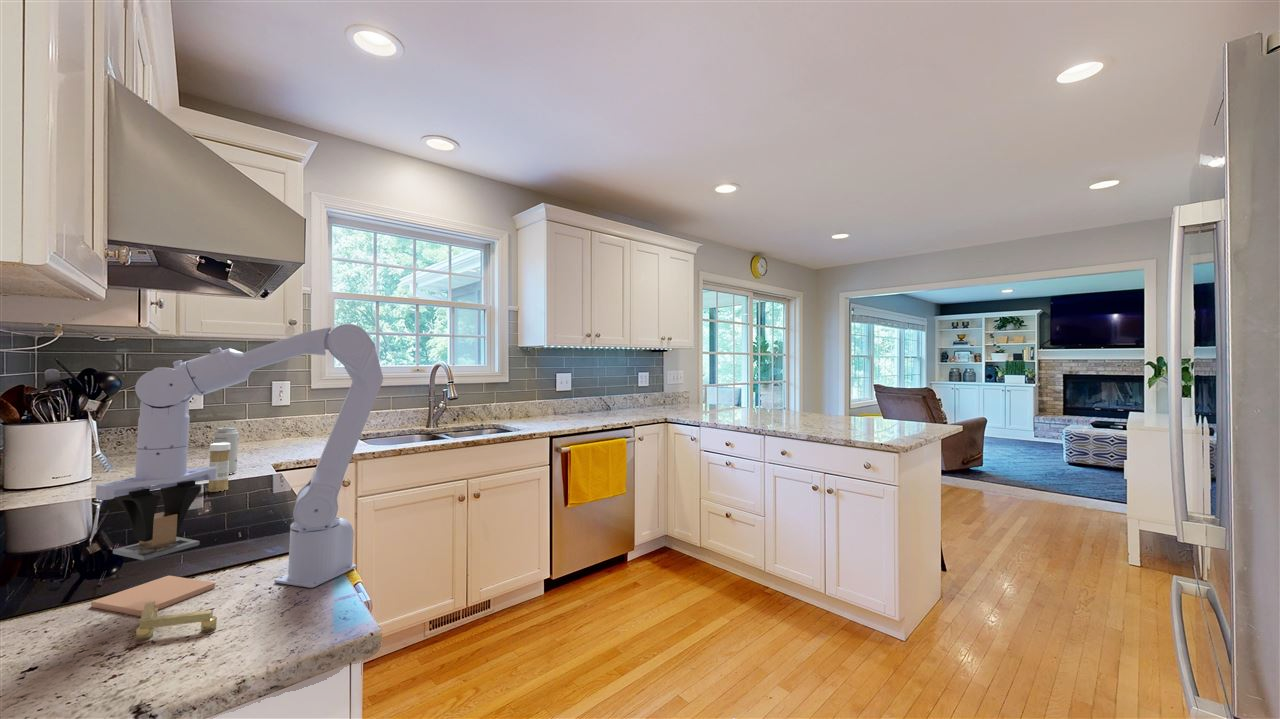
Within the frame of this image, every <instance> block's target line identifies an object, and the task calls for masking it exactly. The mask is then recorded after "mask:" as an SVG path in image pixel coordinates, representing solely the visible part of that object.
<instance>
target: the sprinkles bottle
mask: <svg viewBox="0 0 1280 719" xmlns="http://www.w3.org/2000/svg"><path fill="white" fill-rule="evenodd" d="M229 451H230V443H214V442H213V443H210V445H209V463H208V464H209V465H208V467H212V468H216V479H214V480H208V489H207V491H208V492H209V493H216V492H217V493H219V491H221V492H225V491H228V490H229V476H230V475H229ZM224 490H225V491H224Z"/></svg>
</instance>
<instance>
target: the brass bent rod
mask: <svg viewBox="0 0 1280 719" xmlns="http://www.w3.org/2000/svg"><path fill="white" fill-rule="evenodd" d="M155 602H156V601H154V602H149V603H146V604H145V607H144V610H143V611H142V616H140V619H139V626H138V627H136V634H135V641H136V642H142V641H143V642H144V641H147V640H149V639H151V638H153V637H154V629H155V628H161V627H170V626H171V627H172V626H178V625H187V624H194V623H201V626H200V633H209V632H213V631H215V630H216V629H217V622H218V619H217V618H218V617H217V616H213V613H214V610H213V609H212V610H211V609H210V610H202V611H192V612H185V613H175V614H167V615H160V616H158V614H159V613H158V612H159V610H158V608H157V607H155Z"/></svg>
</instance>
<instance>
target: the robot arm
mask: <svg viewBox="0 0 1280 719" xmlns="http://www.w3.org/2000/svg"><path fill="white" fill-rule="evenodd" d="M326 350H328V351H329V353H330V354H331V355H332V356H333V357H334V358H335V359H336V360H337V361H338V362H339V363H340V364H342V365H343V366H344V369H345V370H346V373H347V374H348V376H349V377H350V380H351V385H350V387H349V388H348V392H347V393H346V397H345V399H344V401H343V403H342V404H341V405H342V406H341V408H340V410H339V413H338V415H337V418H336V420H335V423H334V424H333V427H332V429H331V432H330V433H329V436H328V439H327V441H326V444H325V446H324V449H323V451H322V454H321V456H320V458H319V460H318V462H317V465H316V467H315V468H314V471H313V472H312V475H311V477H310V478H309V481H308V482H307V483H306V484H305V485H304V486H303V487H302V488H300V490H299V491H298V492H297V495H296V498H295V505H294V507H293V513H292V516H293V519H294V521H293V522H292V523H290V525H289V526H290V528H289V529H290V530H289V547H288V565H287V566H288V567H287V568H288V571H287V573H286V574H284V575H282V576H278V577H276V578H275V579H274V583H277V584H283V585H289V586H290V585H291V586H295V587H304V588H309V589H312V588H315V587H318V586H319V585H321V584H324V583H326V582H328V581H330V580H333V579H335V578H337V577H339V576H341V575H343V574H345V573H347V572H349V571H352V570H353V569H356V568H357V564H355V563H353V558H354V534H355V533H354V529H353V525H352V524H351V522H350V521H349V520H347V519H346V518H344V517H339V516H337V515H338V512H339V503H338V497H339V493H340V491H341V489H342V484H343V480H344V478H345V474H346V471H347V469H348V466H349V465H350V462H351V459H352V457H353V455H354V452H355V449H356V447H357V445H358V442H359V441H360V438H361V436H362V433H363V432H364V427H365V425H366V423H367V420H368V418H369V416H370V413H371V411H372V408H373V406H374V404H375V401H376V399H377V396H378V394H379V392H380V389H381V386H382V385H383V382H384V376H383V371H382V368H381V364H380V360H379V357H378V353H377V348H376V344H375V342H374V341H373V340H372V338H371V336H370V335H369V334H368V332H366V330H365V329H364V328H362V327H361V326H360V325H358V324H357V325H356V324H353V323H343V324H340V325H338V326H335V327H334V328H332V327H331V326H330V327H325V328H319V329H314V330H309V331H303V332H302V333H297V334H296V335H293V336H290V337H287V338H284V339H281V340H278V341H275V342H272V343H268V344H265V345H263V346H260V347H257V348H253V349H251V350H248V351H245V352H242V351H239V350H237V349H233V348H227V349H222V348H221V347H216V348H212V349H210V350H209V352H210V353H209V354H206V355H203V356H199V357H197V358H192V359H189V360H186V361H183V360H182V359H179V360H175V361H173V362H172V366H173V368H171V367H165V366H164V367H161V366H160V367H155V368H153V369H152V370H150V371H147V372H145V373H144V374H142V375H141V376H140V377H139V378H138V379H137V381H136V383H135V389H134V391H135V394H136V396H137V397H138V399H139V400H140V402H139V403H140V406H139V417H138V420H137V441H136V455H135V456H136V457H135V474H134V476H133V477H128V478H123V479H120V480H115V481H111V482H106V483H100V484H97V485H96V486H95V500H104V501H107V500H112V499H115V501H116V502H117V504H119V505H120V507H121V508H122V509H123V511H124V513H125V514H126V517H127V518H128V520H129V523H130V525H131V528H132V531H133V535H134V540H135V541H138V542H139V541H143V542H146V541H150V540H151V537H152V533H153V521H154V515H155V514H156V510H157V507H158V505H159V502H160V499H161V496H160V495H158V494H157V495H155V494H153V492H151V491H153V490H154V491H155V490H160V491H161V495H162V500H163V507H164V512H169V513H175V514H178V515H177V533H176V534H180V531H181V529H182V525H183V524H184V523H183V522H184V520H185V518H186V515H187V513H188V511H189V509H190V507H191V505H193V504H192V503H193V502H194V501H195V499H196V498H197V496H198V495H199V494H200V493H201V491H202V484H198V482H204V481H209V480H214V479H216V468H212V467H209V466H206V467H199V468H191V469H189V468H188V457H189V456H188V453H189V439H190V438H189V437H190V422H191V421H190V419H191V417H190V415H189V414H190V413H189V412H190V400H191V398H192V397H193V396H194V395H195V396H200V397H202V396H204V395H207V394H211V393H214V392H217V391H219V390H223V389H225V388H229V387H231V386H235V385H238V384H241V383H243V382H246V381H247V380H248V379H249V377H250V376H251V373H252V372H253V370H257V369H260V368H263V367H267V366H270V365H273V364H277V363H279V362H283V361H287V360H291V359H293V358H296V357H301V356H303V355H315V356H316V355H317V356H326Z"/></svg>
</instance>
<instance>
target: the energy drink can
mask: <svg viewBox="0 0 1280 719" xmlns="http://www.w3.org/2000/svg"><path fill="white" fill-rule="evenodd" d="M213 443H230V451H229V474H230V473H234V472H236V471H238V469H237V468H238V453H239V452H238V451H239V450H238V449H239V431H238V428H237V427H235V426H234V427H229V426H228V427H226V426H225V427H218V428H217V431H215V433H214V442H213ZM234 474H235V473H234Z"/></svg>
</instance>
